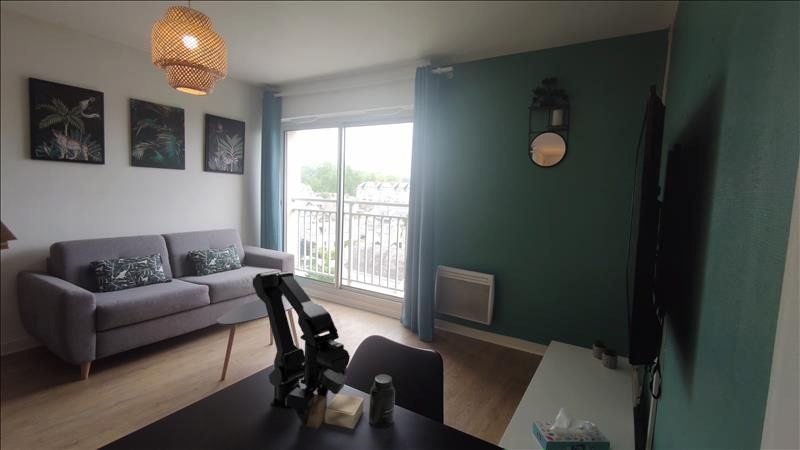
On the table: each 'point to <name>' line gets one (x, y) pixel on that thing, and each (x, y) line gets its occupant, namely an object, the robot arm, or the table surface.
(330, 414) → the oak block
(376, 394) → the supplement bottle
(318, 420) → the walnut block
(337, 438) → the table surface
